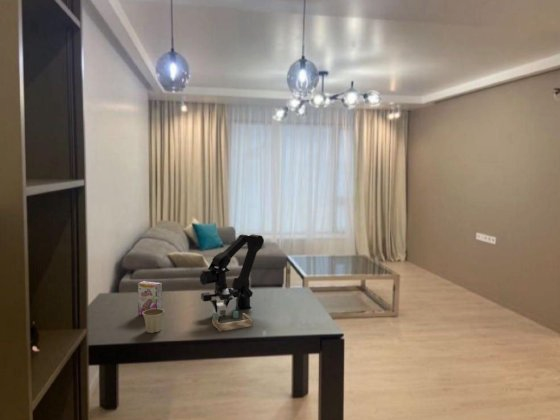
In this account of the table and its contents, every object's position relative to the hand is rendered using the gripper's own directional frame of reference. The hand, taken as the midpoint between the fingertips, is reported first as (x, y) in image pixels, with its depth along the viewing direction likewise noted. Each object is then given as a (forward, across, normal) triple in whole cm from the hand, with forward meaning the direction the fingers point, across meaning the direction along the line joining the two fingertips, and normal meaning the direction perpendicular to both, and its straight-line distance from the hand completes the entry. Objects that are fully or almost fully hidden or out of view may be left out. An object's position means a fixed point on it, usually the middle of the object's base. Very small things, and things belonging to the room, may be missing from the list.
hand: (220, 311), depth 215 cm
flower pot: (+1, -34, -9) cm, 35 cm away
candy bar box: (+1, -32, +13) cm, 35 cm away
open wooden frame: (+1, 0, -17) cm, 17 cm away
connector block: (+1, 0, 0) cm, 1 cm away
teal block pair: (+1, 0, -8) cm, 8 cm away
